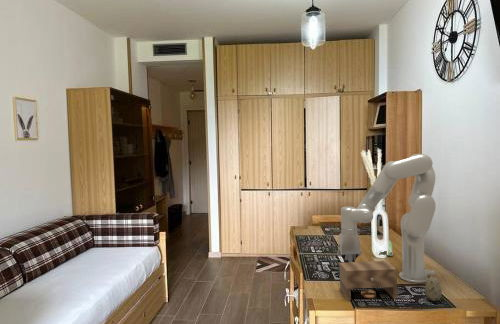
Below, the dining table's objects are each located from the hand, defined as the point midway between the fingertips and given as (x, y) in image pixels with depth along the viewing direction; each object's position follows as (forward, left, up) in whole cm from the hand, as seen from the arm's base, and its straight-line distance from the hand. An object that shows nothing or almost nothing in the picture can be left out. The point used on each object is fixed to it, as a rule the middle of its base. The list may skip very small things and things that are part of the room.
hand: (349, 266), depth 161 cm
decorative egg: (-24, +31, -4) cm, 40 cm away
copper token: (0, +24, -4) cm, 24 cm away
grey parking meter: (0, +7, -3) cm, 8 cm away
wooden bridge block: (0, +23, -4) cm, 23 cm away
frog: (-30, -27, -4) cm, 41 cm away
